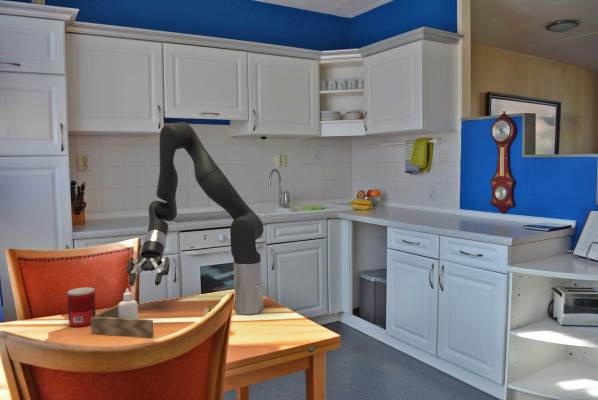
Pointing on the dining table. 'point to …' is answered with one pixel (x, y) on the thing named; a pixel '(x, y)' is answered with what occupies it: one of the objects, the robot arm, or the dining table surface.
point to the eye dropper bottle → (128, 307)
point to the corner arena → (120, 325)
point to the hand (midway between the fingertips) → (144, 284)
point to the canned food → (81, 306)
